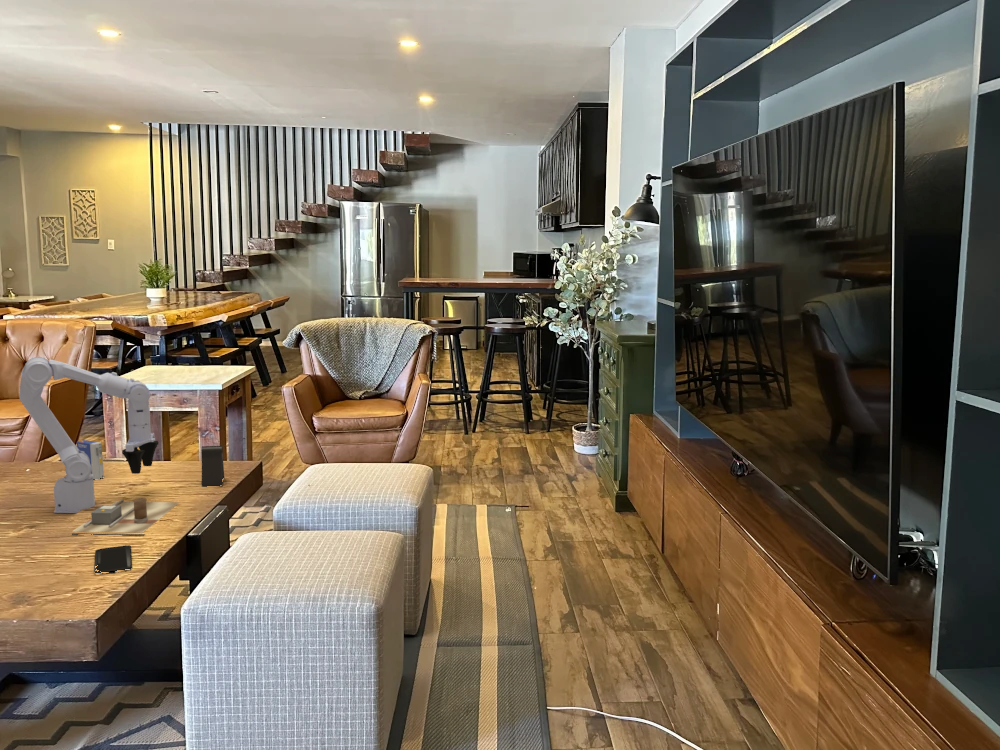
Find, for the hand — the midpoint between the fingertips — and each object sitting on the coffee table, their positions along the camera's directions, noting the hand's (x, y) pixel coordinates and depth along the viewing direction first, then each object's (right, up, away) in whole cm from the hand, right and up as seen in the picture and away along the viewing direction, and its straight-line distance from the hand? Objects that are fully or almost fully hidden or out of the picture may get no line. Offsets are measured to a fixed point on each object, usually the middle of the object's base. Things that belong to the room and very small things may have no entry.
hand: (141, 469), depth 223 cm
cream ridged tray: (+3, -12, -14) cm, 19 cm away
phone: (+13, -17, -42) cm, 47 cm away
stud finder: (-1, -11, -18) cm, 21 cm away
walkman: (-27, -6, +23) cm, 35 cm away
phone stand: (+13, -7, +20) cm, 25 cm away
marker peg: (+8, -12, -18) cm, 23 cm away
